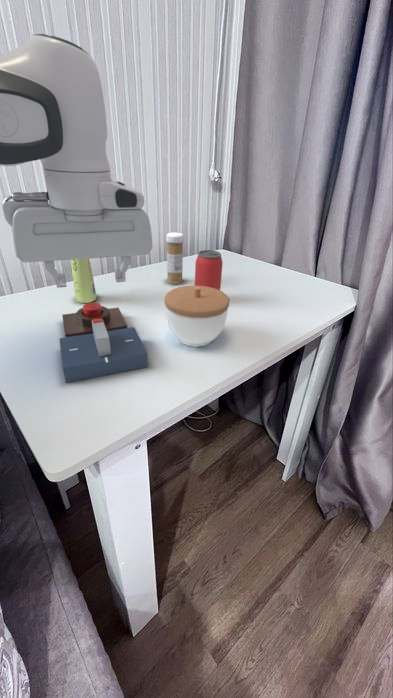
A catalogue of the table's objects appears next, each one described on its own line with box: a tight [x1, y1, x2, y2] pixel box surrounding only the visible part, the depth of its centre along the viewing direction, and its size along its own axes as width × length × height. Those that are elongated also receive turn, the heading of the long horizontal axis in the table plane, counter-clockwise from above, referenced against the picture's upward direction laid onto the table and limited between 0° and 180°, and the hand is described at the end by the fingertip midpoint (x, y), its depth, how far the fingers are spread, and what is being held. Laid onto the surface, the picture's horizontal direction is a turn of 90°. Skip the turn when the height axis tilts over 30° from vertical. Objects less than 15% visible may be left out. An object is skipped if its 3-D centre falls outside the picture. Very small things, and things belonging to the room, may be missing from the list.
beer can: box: [194, 249, 224, 291], centre depth 82 cm, size 7×7×12 cm
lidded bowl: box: [164, 285, 230, 348], centre depth 66 cm, size 13×13×11 cm
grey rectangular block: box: [92, 318, 111, 356], centre depth 59 cm, size 7×2×4 cm, turn 22°
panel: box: [59, 326, 149, 384], centre depth 60 cm, size 14×11×3 cm
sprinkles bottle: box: [165, 231, 184, 285], centre depth 91 cm, size 5×5×13 cm
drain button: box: [82, 302, 102, 317], centre depth 68 cm, size 4×4×2 cm
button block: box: [61, 305, 128, 338], centre depth 69 cm, size 12×9×4 cm
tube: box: [70, 258, 98, 304], centre depth 78 cm, size 6×5×20 cm
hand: (91, 283), depth 55 cm, fingers open, 8 cm apart
